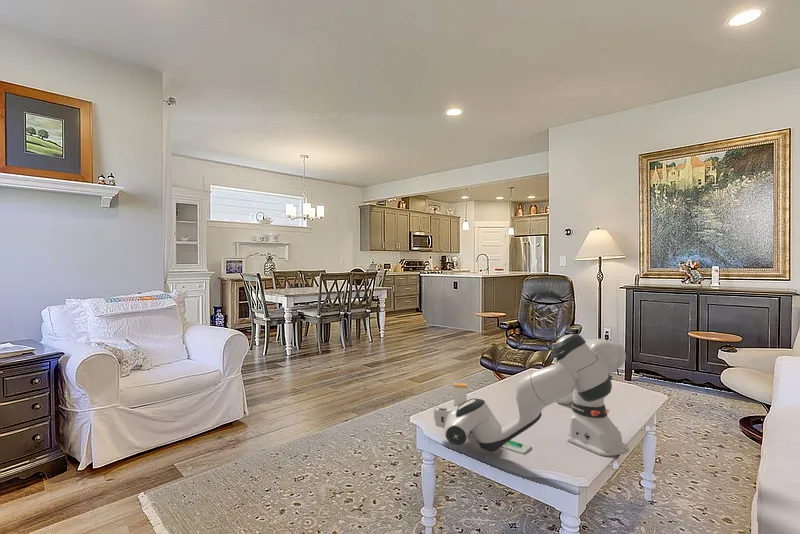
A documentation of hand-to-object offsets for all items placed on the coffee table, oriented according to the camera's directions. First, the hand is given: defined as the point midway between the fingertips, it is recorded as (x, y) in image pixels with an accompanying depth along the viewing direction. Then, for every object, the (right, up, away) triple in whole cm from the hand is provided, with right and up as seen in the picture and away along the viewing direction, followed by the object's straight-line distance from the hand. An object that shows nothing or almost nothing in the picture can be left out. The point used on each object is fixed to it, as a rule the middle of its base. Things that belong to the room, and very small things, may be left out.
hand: (460, 407), depth 175 cm
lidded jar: (+56, -10, +37) cm, 68 cm away
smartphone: (+17, -11, -13) cm, 24 cm away
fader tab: (0, -8, +3) cm, 9 cm away
